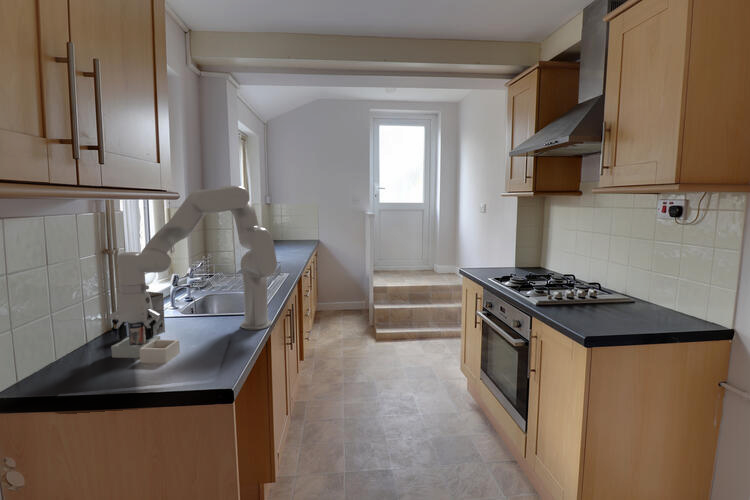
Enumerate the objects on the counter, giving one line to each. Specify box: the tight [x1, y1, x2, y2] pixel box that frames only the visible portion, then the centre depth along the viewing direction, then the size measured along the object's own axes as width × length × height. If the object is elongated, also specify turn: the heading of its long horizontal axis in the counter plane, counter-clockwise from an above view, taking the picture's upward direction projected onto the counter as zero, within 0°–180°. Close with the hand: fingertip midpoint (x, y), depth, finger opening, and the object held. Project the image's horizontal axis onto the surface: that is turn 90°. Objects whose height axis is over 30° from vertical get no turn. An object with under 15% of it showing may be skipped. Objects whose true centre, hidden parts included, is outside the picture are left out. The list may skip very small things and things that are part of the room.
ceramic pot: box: [139, 339, 181, 364], centre depth 129 cm, size 8×8×6 cm
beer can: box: [127, 322, 146, 345], centre depth 133 cm, size 5×5×12 cm
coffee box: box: [144, 291, 166, 336], centre depth 154 cm, size 9×6×16 cm
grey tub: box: [110, 335, 161, 359], centre depth 134 cm, size 10×10×5 cm
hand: (136, 337), depth 133 cm, fingers open, 8 cm apart
